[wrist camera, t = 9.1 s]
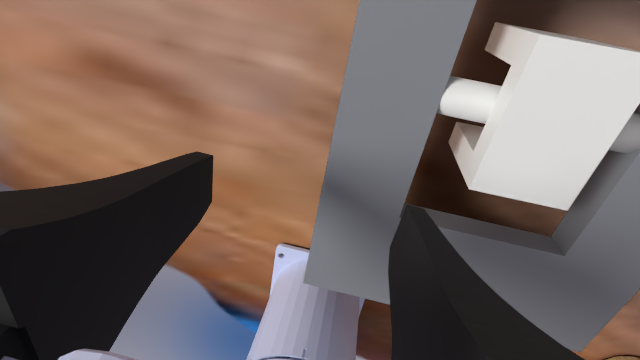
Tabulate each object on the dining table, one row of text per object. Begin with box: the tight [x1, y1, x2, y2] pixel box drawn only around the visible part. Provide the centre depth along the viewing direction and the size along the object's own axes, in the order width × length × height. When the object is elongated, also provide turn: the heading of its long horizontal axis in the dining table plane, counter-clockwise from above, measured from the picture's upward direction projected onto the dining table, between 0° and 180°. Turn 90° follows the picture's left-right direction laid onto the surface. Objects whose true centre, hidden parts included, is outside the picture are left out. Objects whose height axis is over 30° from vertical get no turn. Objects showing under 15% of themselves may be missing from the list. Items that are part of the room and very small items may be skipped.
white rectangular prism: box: [449, 22, 640, 211], centre depth 14 cm, size 6×4×5 cm, turn 171°
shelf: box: [303, 0, 640, 352], centre depth 16 cm, size 24×16×6 cm, turn 170°
